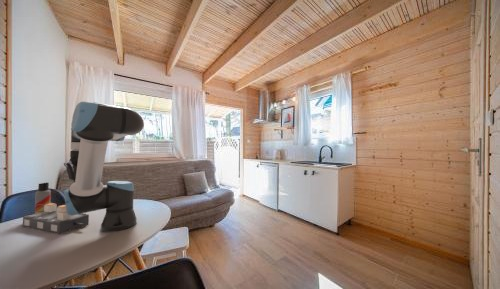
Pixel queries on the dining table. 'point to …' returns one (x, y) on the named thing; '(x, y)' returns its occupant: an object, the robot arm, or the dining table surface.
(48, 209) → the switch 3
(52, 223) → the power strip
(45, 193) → the lotion bottle
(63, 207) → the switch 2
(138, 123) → the robot arm
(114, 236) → the dining table surface
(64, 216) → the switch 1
